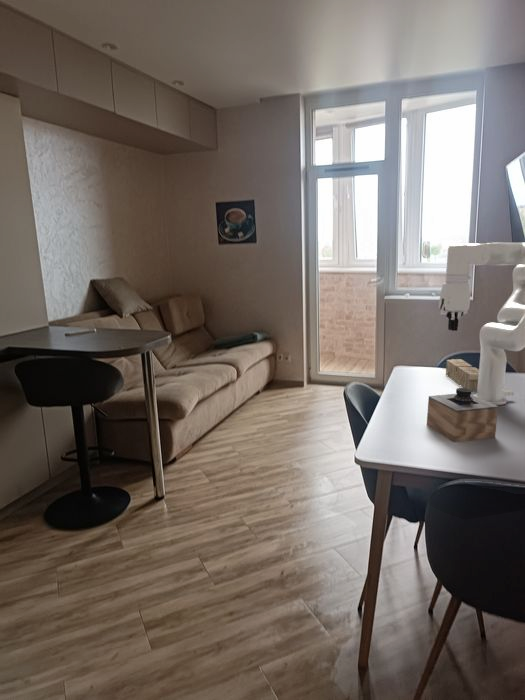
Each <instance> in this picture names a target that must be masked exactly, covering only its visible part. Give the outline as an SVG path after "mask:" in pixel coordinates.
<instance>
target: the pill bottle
mask: <svg viewBox="0 0 525 700" xmlns="http://www.w3.org/2000/svg"><path fill="white" fill-rule="evenodd" d="M455 390H456V391H455V394H457V395H455V396H454V398H453V402H454V403H456V404H458V405H470V404H473V398H472V397H471V396H470V395H472V391H471V390H470V389H467V388H463V387H458V388H456V389H455Z"/></svg>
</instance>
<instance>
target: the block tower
mask: <svg viewBox="0 0 525 700" xmlns="http://www.w3.org/2000/svg"><path fill="white" fill-rule="evenodd" d="M445 367H446V368H445V376H447V375H448V376H447V377H449V378H450V379H451V378H452V379H453V380H452V379H451V380H452V381H454V382H455V383H456V382H457V383H456V384H458V386H460V385H461V386H460V387H461V388H467V389H470V390H471V392H473V391H474V392H477V386H478V376H479V368H477V367H473V365H471V364H470V363H468V362H467V361H465V360H463V359H461V358H456V359H455V358H454V359H453V358H452V359H447V360H446V365H445Z"/></svg>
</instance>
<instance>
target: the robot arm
mask: <svg viewBox="0 0 525 700" xmlns="http://www.w3.org/2000/svg"><path fill="white" fill-rule="evenodd" d="M446 259H447V260H446V270H445V271H446V272H445V282H444V283H443V284H442V287H441V291H440V295H439V301H438V302H439V303H438V309H439V311H440V315H444V316H446V319H447V320H448V324H447V325H448V326H447V327H448V328H447V329H448V330H449V331H453V332H456V331H458V328H459V321H460V320H461V317H463V316H464V315H466V314H468V313H469V311H468V310H469V309H470V307H471V305H470V304H471V289H470V288H471V287H470V283H469V281H470V280H471V276H470V275H469V274H470V266H482V265H484V266H485V265H486V266H515V267H514V268H513V271H512V285H513V286H512V287H513V288H512V289H513V290H512V293H511V295H510V296H509V297H508V299H507V300H506V301H505V302H504V304H503V305H502V307H501V308H500V310H499V311H498V313H497V316H496V320H497V322H488V323H485V324H484V325H482V327H481V328H480V330H479V344H480V357H479V367H478V369H479V376H478V386H477V391H476V393H474V394H473V395H474V396H476V397H478V398H480V399H483V400H485V401H487V402H489V403H492V404H494V405H496V406H500V405H501V406H504V405H505V404H506V403H507V401H508V400H507V398H506V397H507V396H513V395H514V392H513V390H505V388H504V387H505V380H506V379H505V378H506V368H507V359H508V358H507V355H506V352H505V350H506V351H510V352H511V351H512V352H520V351H522V350H524V349H525V242H500V241H499V242H486V243H458V244H451V245H449V246H448V247H447V257H446Z"/></svg>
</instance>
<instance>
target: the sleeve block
mask: <svg viewBox="0 0 525 700" xmlns="http://www.w3.org/2000/svg"><path fill="white" fill-rule="evenodd" d="M455 395H457V393H450V394H448V393H447V394H439V395H438V394H437V395H428V401H427V402H428V403H427V416H426V417H427V418H426V426H427V427H429V428H430V429H432V430H434V431H435V432H437V433H439V434H440V435H442V436H444V437H445V438H447V439H448V440H450V441H451V442H453V443H457V442H466V441H474V440H482V439H483V440H484V439H490V438H491V439H492V438H496V433H497V431H496V430H497V422H498V413H499V412H498V411H499V405H494V404H492V403H489V402H487V401H485V400H483V399H480V398H478V397H476V396H474V394H471V395H470V396H471V397H472V398H473V404H470V405H458V404H456V403H454V402H453V398H454V396H455Z"/></svg>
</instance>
